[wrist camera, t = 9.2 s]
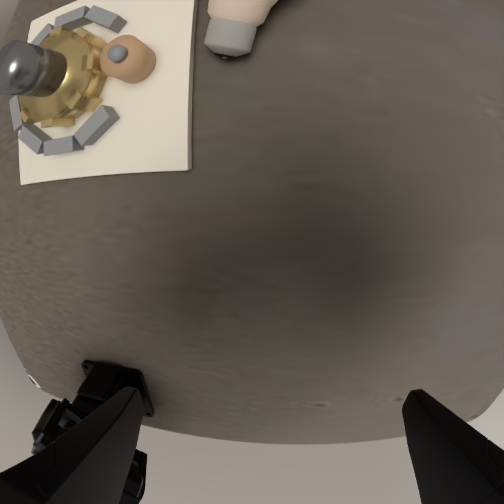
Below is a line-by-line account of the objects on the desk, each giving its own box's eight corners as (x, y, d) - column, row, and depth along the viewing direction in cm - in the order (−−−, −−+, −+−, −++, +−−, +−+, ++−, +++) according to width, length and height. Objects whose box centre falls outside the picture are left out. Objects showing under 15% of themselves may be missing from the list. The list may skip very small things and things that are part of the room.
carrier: (191, 169, 17) (173, 175, 14) (28, 182, 18) (-5, 192, 14) (200, -23, 13) (187, -53, 9) (38, 24, 13) (9, 13, 9)
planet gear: (111, 118, 15) (44, 113, 9) (36, 134, 16) (-30, 141, 9) (118, 24, 13) (63, -12, 7) (42, 50, 13) (-18, 36, 7)
